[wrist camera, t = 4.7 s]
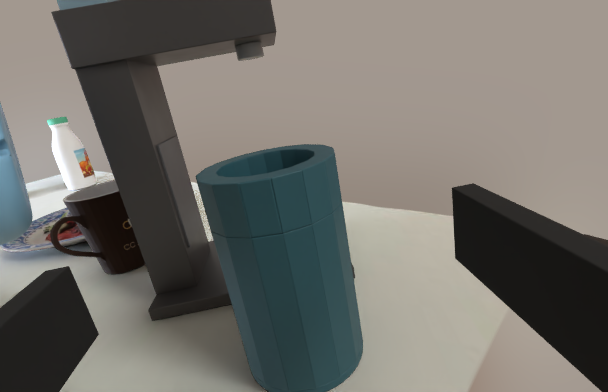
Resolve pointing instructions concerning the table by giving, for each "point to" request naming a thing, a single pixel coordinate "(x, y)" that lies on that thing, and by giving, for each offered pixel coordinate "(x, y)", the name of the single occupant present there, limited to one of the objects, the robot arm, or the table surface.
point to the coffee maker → (158, 123)
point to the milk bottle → (71, 156)
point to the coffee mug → (102, 228)
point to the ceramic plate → (46, 234)
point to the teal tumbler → (286, 264)
